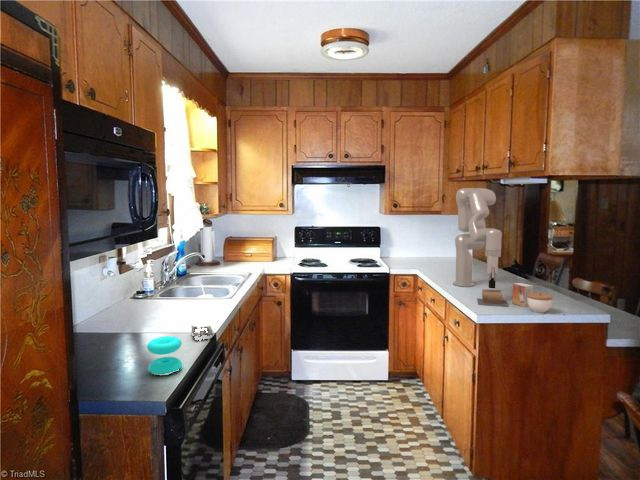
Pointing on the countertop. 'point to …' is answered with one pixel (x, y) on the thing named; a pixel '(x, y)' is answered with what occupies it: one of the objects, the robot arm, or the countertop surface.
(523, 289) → the small box
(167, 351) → the donuts
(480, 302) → the mat
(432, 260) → the countertop surface
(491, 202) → the robot arm
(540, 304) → the lidded jar
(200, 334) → the egg carton
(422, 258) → the countertop surface
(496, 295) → the slab
